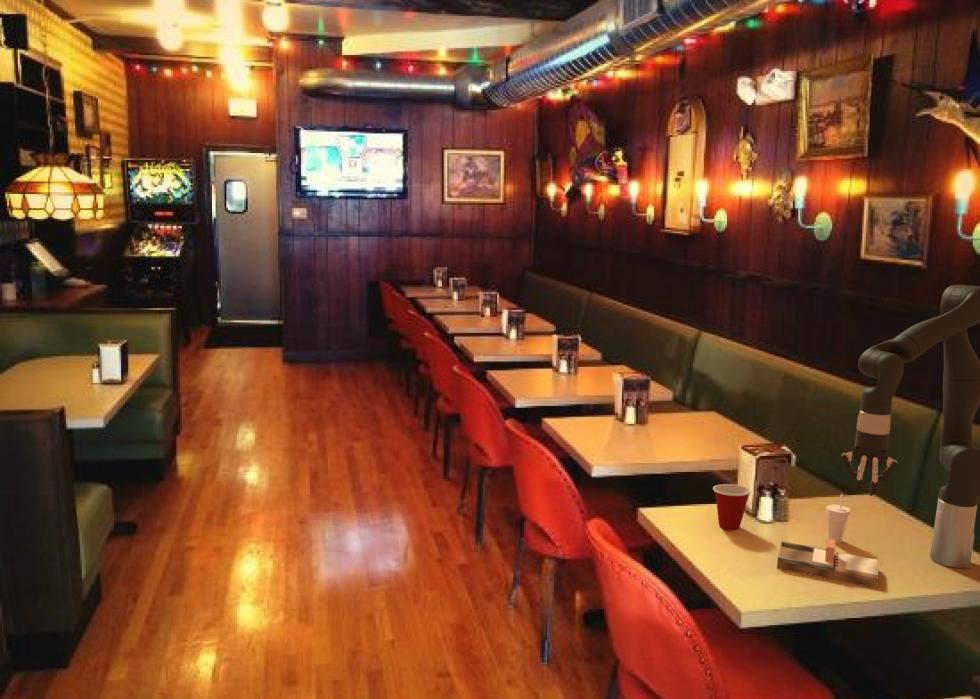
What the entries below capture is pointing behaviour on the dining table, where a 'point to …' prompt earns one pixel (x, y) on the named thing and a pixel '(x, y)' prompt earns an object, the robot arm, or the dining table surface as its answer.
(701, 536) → the dining table surface
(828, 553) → the white orange block
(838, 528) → the smoothie
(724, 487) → the plastic cup
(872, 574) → the mandoline slicer
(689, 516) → the dining table surface
